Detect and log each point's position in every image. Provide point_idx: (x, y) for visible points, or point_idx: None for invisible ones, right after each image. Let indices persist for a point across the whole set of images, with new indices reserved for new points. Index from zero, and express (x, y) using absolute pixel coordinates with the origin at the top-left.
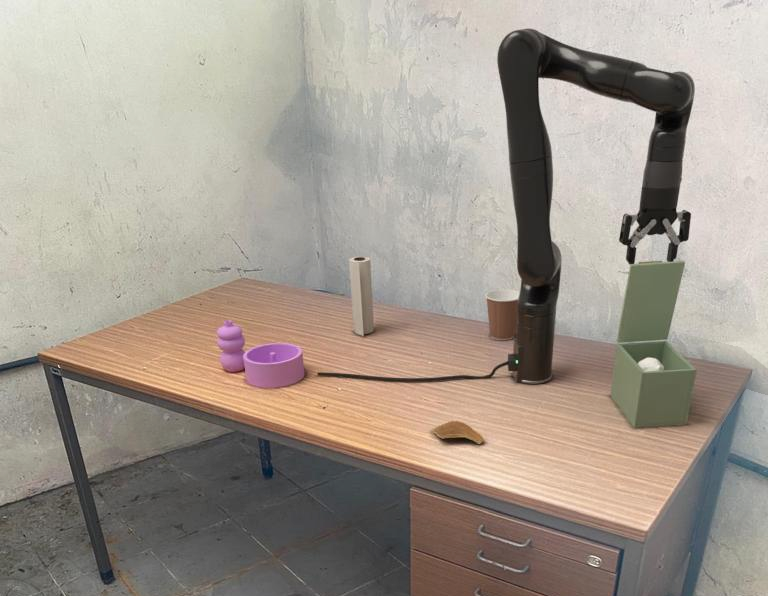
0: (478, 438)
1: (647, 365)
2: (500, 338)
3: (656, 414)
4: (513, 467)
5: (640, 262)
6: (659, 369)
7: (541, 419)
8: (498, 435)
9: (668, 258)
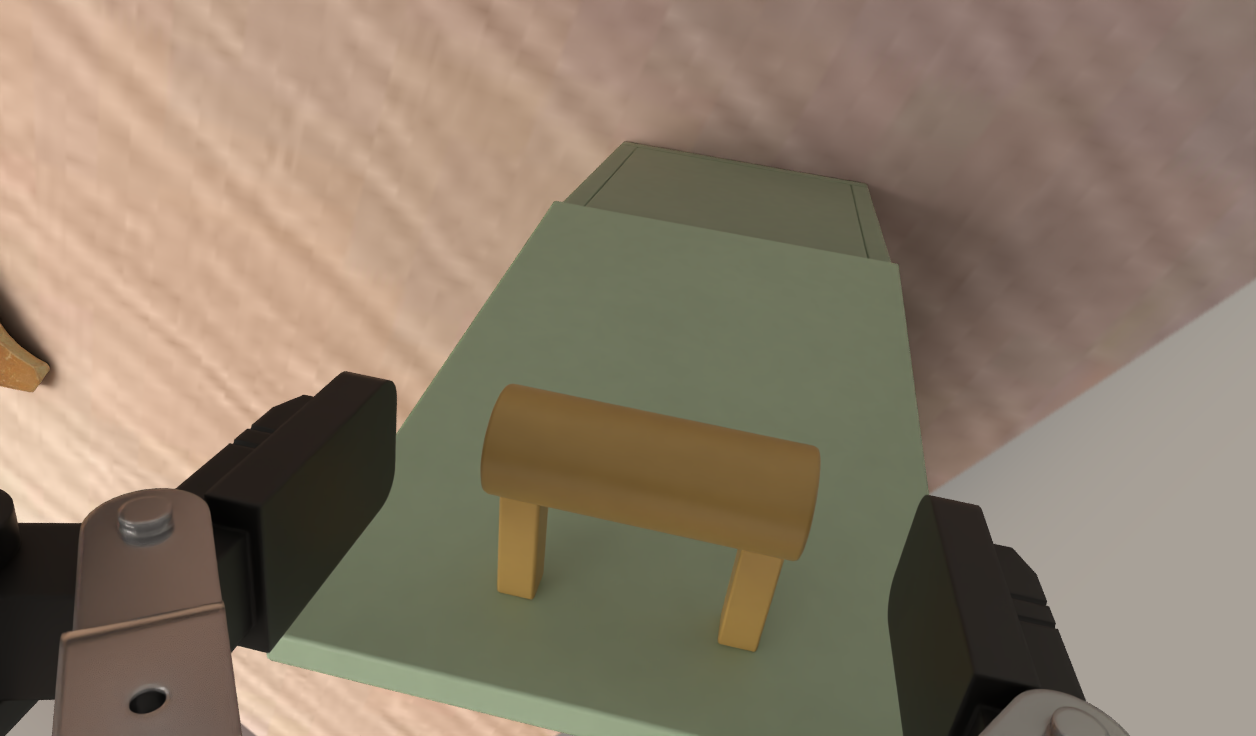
0: (17, 384)
1: None
2: None
3: None
4: None
5: (488, 477)
6: None
7: (267, 271)
8: (101, 338)
9: (913, 565)
